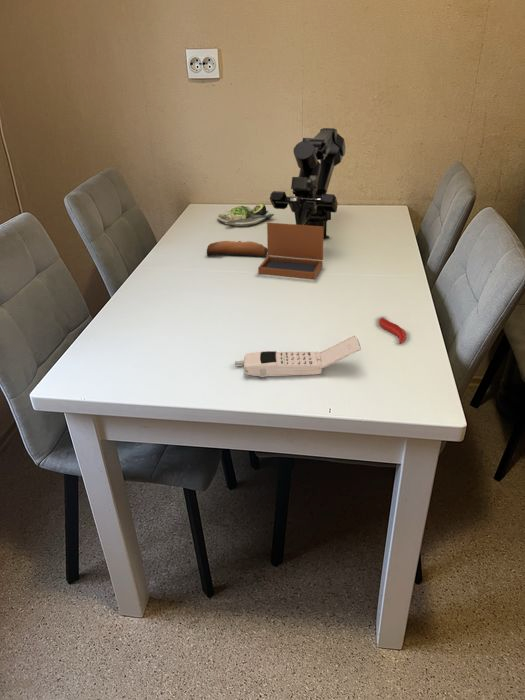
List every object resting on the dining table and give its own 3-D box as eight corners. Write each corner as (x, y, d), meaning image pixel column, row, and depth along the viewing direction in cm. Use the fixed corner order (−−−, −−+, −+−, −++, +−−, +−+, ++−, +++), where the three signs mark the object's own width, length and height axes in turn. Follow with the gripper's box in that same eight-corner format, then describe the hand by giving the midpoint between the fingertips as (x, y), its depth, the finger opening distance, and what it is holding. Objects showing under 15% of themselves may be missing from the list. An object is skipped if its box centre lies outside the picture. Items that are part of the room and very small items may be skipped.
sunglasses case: (270, 247, 172) (268, 233, 166) (267, 266, 168) (265, 252, 163) (213, 246, 175) (209, 231, 169) (209, 264, 171) (205, 250, 166)
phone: (312, 277, 151) (312, 274, 151) (262, 272, 155) (262, 269, 155) (318, 267, 157) (318, 264, 156) (270, 263, 161) (270, 260, 160)
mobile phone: (362, 349, 108) (232, 353, 109) (360, 375, 111) (234, 379, 111) (357, 334, 114) (233, 338, 114) (355, 359, 117) (235, 363, 117)
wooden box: (314, 281, 150) (315, 273, 149) (258, 276, 155) (258, 267, 154) (322, 269, 158) (322, 260, 156) (268, 264, 162) (267, 255, 161)
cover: (323, 227, 151) (323, 226, 152) (267, 222, 156) (267, 222, 156) (322, 260, 156) (322, 259, 156) (267, 255, 160) (268, 254, 161)
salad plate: (244, 233, 185) (243, 219, 183) (205, 223, 195) (204, 210, 193) (279, 217, 198) (279, 204, 196) (241, 209, 208) (240, 196, 205)
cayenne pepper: (409, 343, 121) (410, 335, 120) (388, 344, 121) (389, 336, 120) (396, 317, 132) (396, 310, 131) (376, 318, 132) (377, 311, 131)
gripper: (270, 162, 156) (259, 213, 153) (336, 164, 151) (326, 218, 147) (279, 183, 166) (269, 231, 163) (341, 186, 161) (332, 236, 158)
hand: (298, 229), depth 158 cm, fingers closed
